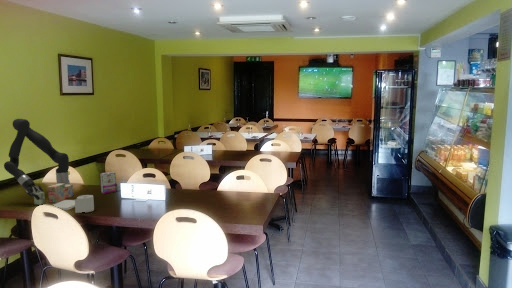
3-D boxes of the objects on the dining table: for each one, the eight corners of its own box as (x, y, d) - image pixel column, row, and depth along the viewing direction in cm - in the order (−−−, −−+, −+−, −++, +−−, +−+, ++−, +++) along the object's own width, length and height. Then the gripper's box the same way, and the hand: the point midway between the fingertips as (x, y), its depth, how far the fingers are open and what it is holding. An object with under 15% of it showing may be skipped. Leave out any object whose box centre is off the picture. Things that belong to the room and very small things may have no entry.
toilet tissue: (96, 208, 300) (95, 194, 298) (90, 213, 288) (89, 199, 287) (81, 208, 299) (80, 194, 298) (74, 213, 287) (73, 199, 286)
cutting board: (65, 201, 319) (65, 199, 319) (84, 202, 316) (84, 200, 316) (47, 209, 299) (47, 206, 299) (67, 210, 296) (67, 207, 296)
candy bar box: (114, 190, 353) (113, 171, 351) (116, 191, 349) (115, 172, 347) (101, 192, 346) (99, 173, 344) (103, 193, 342) (101, 174, 340)
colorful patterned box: (66, 195, 338) (65, 180, 337) (73, 195, 337) (72, 180, 336) (48, 202, 317) (47, 186, 316) (56, 202, 316) (54, 186, 315)
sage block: (39, 202, 315) (38, 192, 314) (45, 202, 314) (44, 192, 313) (34, 204, 310) (33, 193, 309) (40, 204, 309) (39, 194, 308)
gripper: (21, 180, 304) (37, 197, 303) (35, 176, 318) (51, 192, 317) (16, 187, 305) (32, 204, 305) (30, 183, 319) (45, 199, 319)
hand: (41, 198), depth 311 cm, fingers closed on sage block, 5 cm apart
